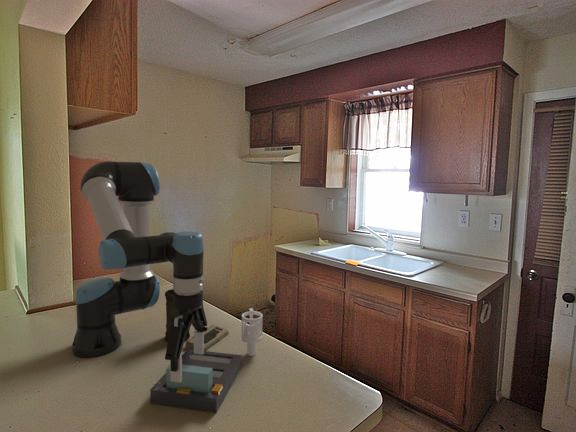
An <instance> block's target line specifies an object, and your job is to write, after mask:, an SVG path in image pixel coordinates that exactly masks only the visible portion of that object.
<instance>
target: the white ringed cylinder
mask: <svg viewBox="0 0 576 432" xmlns="http://www.w3.org/2000/svg"><path fill="white" fill-rule="evenodd" d="M248 310H249V311H246V312H243V313H242V314H241V341H242V342H244V343H246V344H247V349H246V352H247V353H246V354H247V356H249V357H253V356H256V355H257V343H259V342H261V341H263V340H262V339H263V318H264V317H263V316H264V315H263V313H262V312H260V311H255V310H254V308H253V307H251V308H249V309H248ZM246 316H249V318H248V317H246ZM254 316H258V317H257V318H256V317H255V318H254ZM247 323H248V324H247Z"/></svg>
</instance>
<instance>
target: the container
mask: <svg viewBox="0 0 576 432" xmlns="http://www.w3.org/2000/svg"><path fill="white" fill-rule="evenodd" d="M173 293H174V291H173V288H171V289H167V290H166V291H165V293H164V297H165V313H166V315H165V316H166V317H165V318H166V319H165V320H166V323H165V328H166V329H165V330H166V331H165V336H164V339H165V342H167V343H168V340H169V335H170V330H171V320H172V318H173V317H175V318H177V317H178V312H179V310H178V309H177V308H175V307H174V305H173ZM190 337H191V333H190V330H189V331H188V332H187V334H186V337H185V341H184V343H186V341H188V340H189V339H190Z"/></svg>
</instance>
